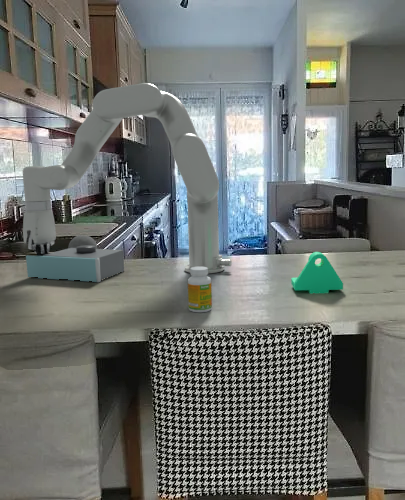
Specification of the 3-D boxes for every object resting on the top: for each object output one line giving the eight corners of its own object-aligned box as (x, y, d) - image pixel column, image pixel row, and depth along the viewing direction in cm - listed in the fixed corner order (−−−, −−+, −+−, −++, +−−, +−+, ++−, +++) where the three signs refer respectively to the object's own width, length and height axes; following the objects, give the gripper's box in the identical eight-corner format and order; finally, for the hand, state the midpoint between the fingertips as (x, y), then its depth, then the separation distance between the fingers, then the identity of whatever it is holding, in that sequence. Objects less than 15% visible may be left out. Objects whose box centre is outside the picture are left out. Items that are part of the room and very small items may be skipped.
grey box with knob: (124, 271, 153) (122, 245, 152) (99, 281, 140) (97, 252, 139) (72, 268, 161) (70, 243, 159) (44, 277, 148) (42, 250, 146)
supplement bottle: (201, 314, 106) (200, 271, 105) (183, 310, 110) (182, 268, 108) (216, 308, 110) (215, 267, 109) (199, 304, 114) (197, 264, 112)
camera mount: (335, 286, 128) (336, 248, 127) (342, 293, 121) (343, 253, 119) (290, 287, 129) (290, 249, 127) (295, 294, 121) (295, 254, 120)
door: (101, 281, 140) (100, 258, 139) (99, 282, 139) (97, 259, 137) (30, 276, 148) (28, 255, 147) (27, 277, 147) (25, 255, 146)
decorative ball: (69, 261, 173) (67, 234, 171) (97, 259, 175) (96, 232, 174) (68, 266, 164) (66, 237, 162) (98, 264, 166) (96, 236, 164)
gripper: (45, 204, 156) (49, 260, 159) (11, 209, 142) (16, 269, 145) (64, 205, 153) (68, 261, 156) (31, 209, 139) (36, 271, 142)
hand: (43, 265), depth 150 cm, fingers closed
